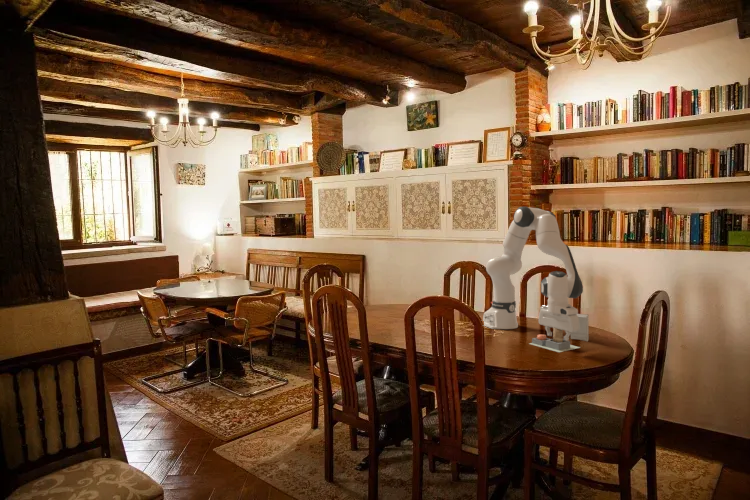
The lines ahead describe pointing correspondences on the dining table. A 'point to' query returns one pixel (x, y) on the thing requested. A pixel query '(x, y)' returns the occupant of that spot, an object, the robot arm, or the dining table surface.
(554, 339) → the cell
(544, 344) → the grey test fixture
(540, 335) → the test button
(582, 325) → the supplement box
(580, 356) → the dining table surface
